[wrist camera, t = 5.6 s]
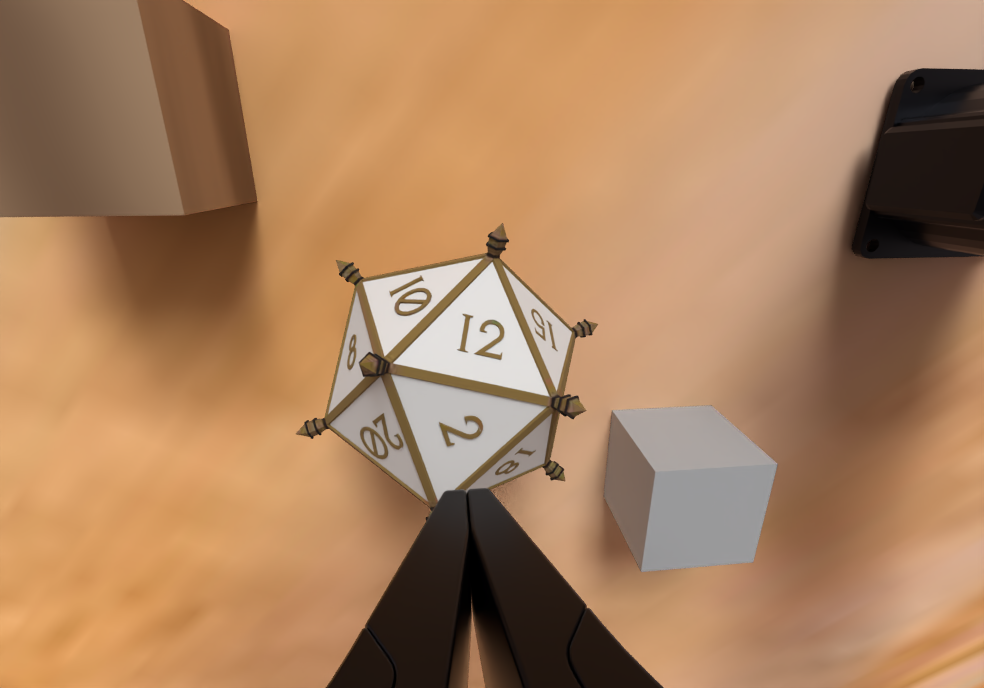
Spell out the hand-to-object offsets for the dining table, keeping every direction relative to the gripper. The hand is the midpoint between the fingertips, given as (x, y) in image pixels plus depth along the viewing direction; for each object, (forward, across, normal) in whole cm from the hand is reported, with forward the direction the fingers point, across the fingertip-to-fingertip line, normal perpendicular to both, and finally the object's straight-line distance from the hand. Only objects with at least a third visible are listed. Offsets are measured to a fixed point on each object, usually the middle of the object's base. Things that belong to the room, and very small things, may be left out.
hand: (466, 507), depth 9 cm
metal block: (+10, +9, -8) cm, 16 cm away
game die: (+10, 0, 0) cm, 10 cm away
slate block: (+10, -9, +6) cm, 15 cm away
